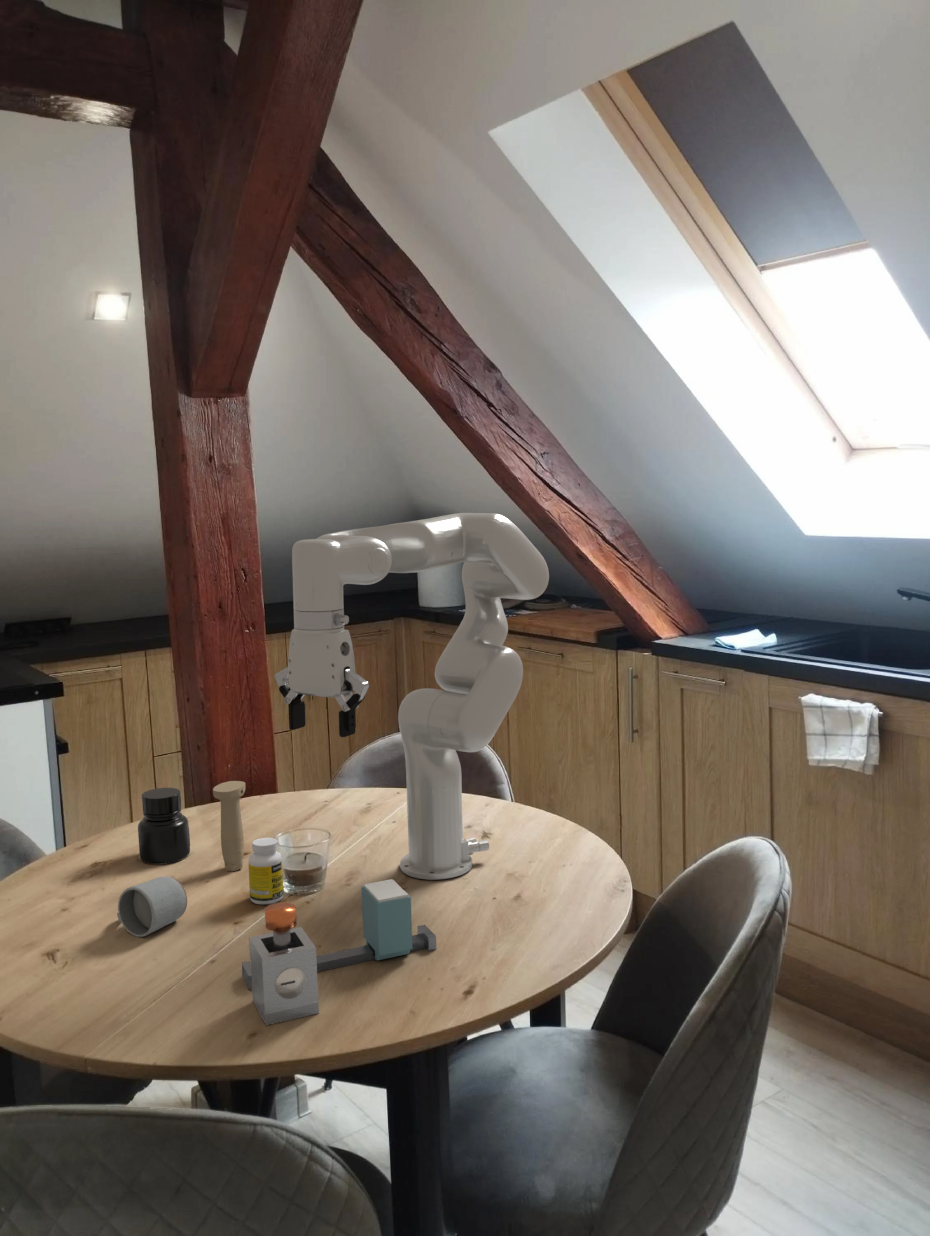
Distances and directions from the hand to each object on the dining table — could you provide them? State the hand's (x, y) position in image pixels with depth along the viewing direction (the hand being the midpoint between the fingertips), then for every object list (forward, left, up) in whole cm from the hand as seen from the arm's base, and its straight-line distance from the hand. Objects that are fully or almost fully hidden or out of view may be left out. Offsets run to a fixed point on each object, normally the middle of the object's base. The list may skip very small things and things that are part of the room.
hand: (322, 731), depth 166 cm
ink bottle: (+19, -39, -30) cm, 53 cm away
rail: (+3, +16, -30) cm, 34 cm away
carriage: (-4, +16, -30) cm, 34 cm away
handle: (+9, -27, -30) cm, 41 cm away
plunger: (+14, +25, -24) cm, 38 cm away
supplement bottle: (+7, -11, -30) cm, 33 cm away
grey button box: (+14, +25, -30) cm, 41 cm away
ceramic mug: (+27, -9, -30) cm, 41 cm away
